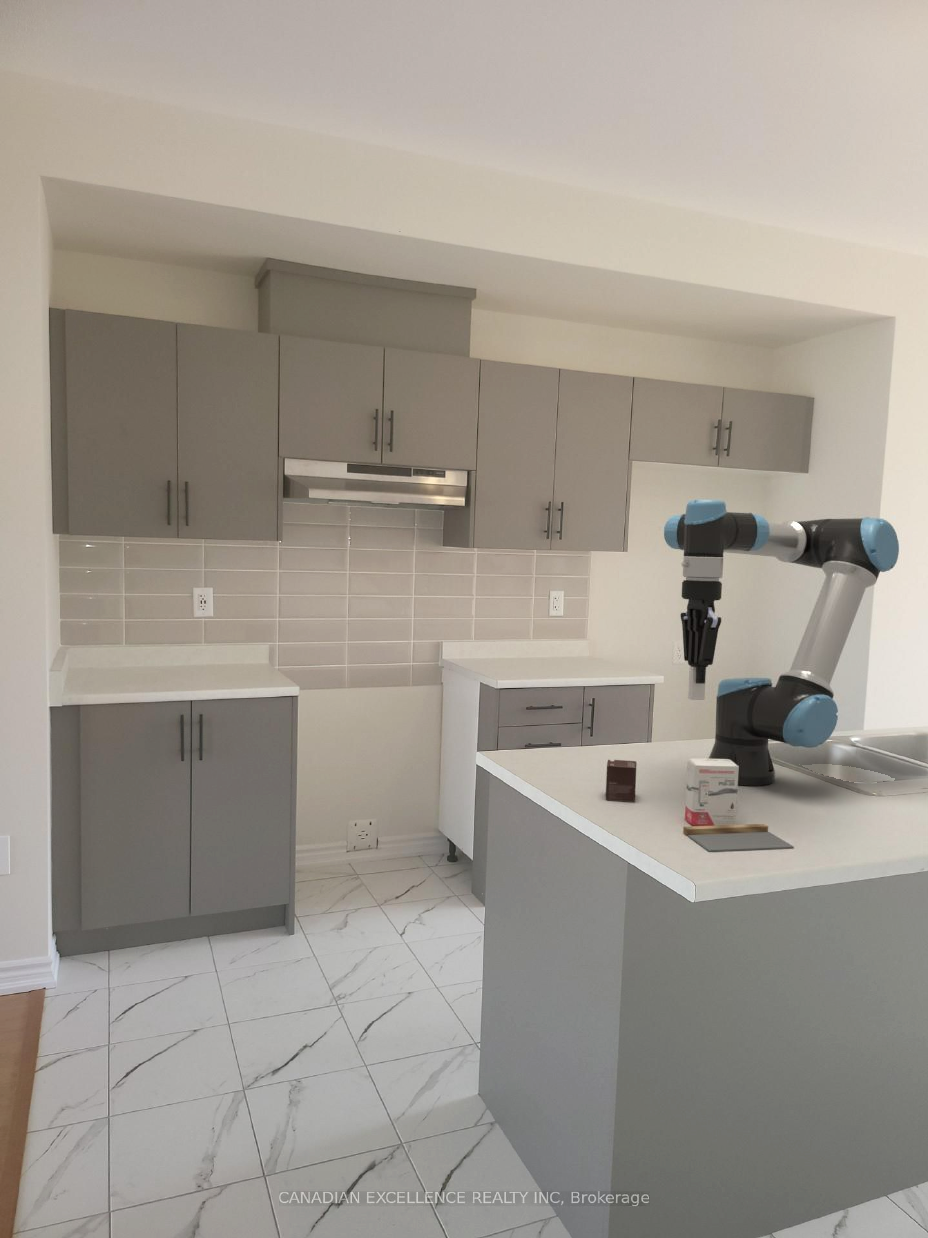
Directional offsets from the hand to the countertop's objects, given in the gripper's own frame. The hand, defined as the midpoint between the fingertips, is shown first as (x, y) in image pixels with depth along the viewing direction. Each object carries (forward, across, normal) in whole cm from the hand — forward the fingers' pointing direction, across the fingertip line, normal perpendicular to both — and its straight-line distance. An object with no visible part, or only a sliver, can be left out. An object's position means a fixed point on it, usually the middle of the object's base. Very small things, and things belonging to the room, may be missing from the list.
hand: (696, 699), depth 171 cm
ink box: (+23, +8, 0) cm, 24 cm away
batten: (+22, +14, 0) cm, 26 cm away
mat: (+22, +20, 0) cm, 30 cm away
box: (+23, -10, -11) cm, 27 cm away
